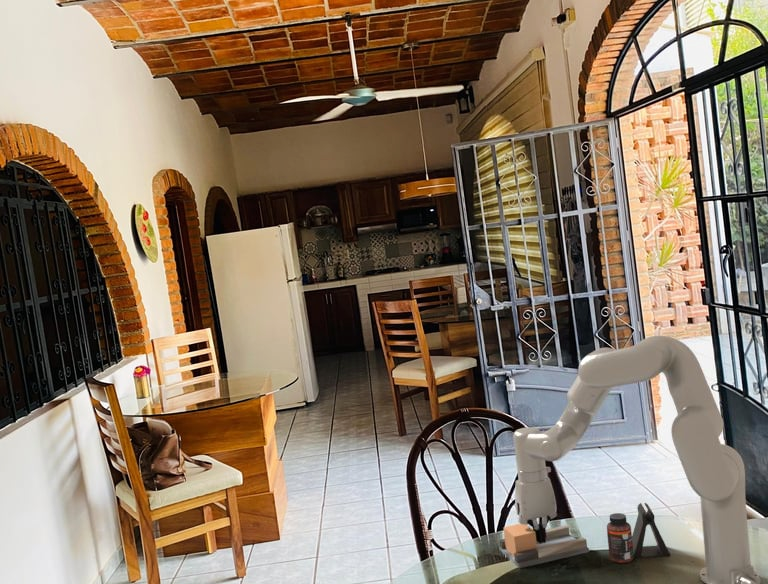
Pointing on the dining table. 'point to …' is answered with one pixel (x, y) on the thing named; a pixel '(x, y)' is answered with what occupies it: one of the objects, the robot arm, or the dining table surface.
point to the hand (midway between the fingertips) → (540, 541)
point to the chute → (548, 548)
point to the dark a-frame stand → (639, 534)
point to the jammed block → (519, 538)
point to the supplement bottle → (619, 539)
